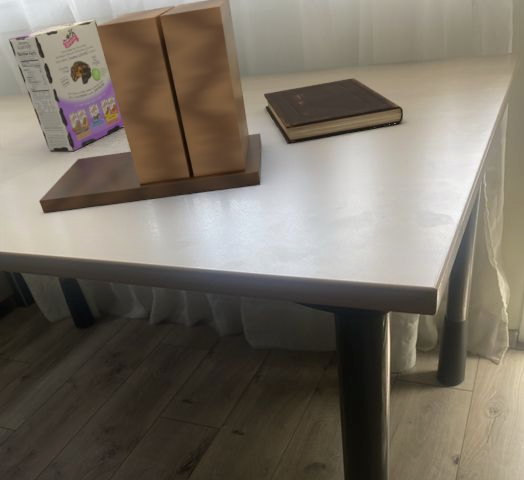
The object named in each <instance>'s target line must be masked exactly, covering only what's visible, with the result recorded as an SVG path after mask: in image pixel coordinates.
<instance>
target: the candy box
mask: <svg viewBox="0 0 524 480" xmlns="http://www.w3.org/2000/svg"><path fill="white" fill-rule="evenodd" d="M96 26H98V23H97V20H96V19H90V20H89V19H88V20H83V21H76V22H69V23H65V24H60V25H56V26H50V27H48V28H47V27H46V28H43V29H40V30H36V31H31V32H29V33H28V32H27V33H24V34H22V35H21V34H20V35H18V36H14V37H10V38H8V42H9V44H10V47H11V50H12V52H13V56H14V58H15V61H16V64H17V66H18V69H19V72H20V75H21V77H22V80H23V83H24V86H25V88H26V91H27V93H28V96H29V99H30V102H31V105H32V107H33V109H34V113H35V115H36V118H37V121H38V125H39V126H40V129H41V132H42V134H43V137H44V140H45V142H46V143H45V144H46V145H47V148H48V151H55V152H56V151H57V152H60V151H61V152H74V151H77V150H79V149H81V148H83V147H84V146H87V145H89V144H91V143H93V142H95V141H97V140H99V139H101V138H103V137H105V136H107V135H109V134H111V133H113V132H114V131H117V130H119V129H121V128H123V127H124V125H123V122H122V118H121V115H120V111H119V107H118V104H117V100H116V97H115V93H114V89H113V86H112V82H111V79H110V75H109V71H108V68H107V64H106V61H105V57H104V53H103V50H102V46H101V43H100V39H99V35H98V32H97V28H96Z"/></svg>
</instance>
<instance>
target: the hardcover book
mask: <svg viewBox="0 0 524 480" xmlns="http://www.w3.org/2000/svg"><path fill="white" fill-rule="evenodd" d="M263 96H264V98H265V100H266V102H267V105H266V106H265V109H266V111H267V113H268V114H269V115H270V117H271V119H272V120H273V122H274V124H276V126H277V128H278V130H279V132H280V133H281V134H282V136H283V138H284V139H285V141H286V142H287V144H293V143H294V144H295V143H300V142H305V141H310V140H311V141H312V140H316V139H322V138H329V137H333V136H339V135H346V134H351V133H355V132H361V130H362V131H366V130H365V129H368V130H371V129H370V128H373V129H375V128H374V127H379V126H384V125H389V124H394V123H399V124H401V122H402V121H403V117H404V110H403V107H402V106H400V105H398V104H397V103H395V102H393V101H391V100H390V99H388V98H387V97H386V96H384V95H382V94H381V93H379V92H377V91H376V90H374V89H372V88H371V87H369V86H367V85H366V84H364V83H362V82H361V81H359V80H358V79H356V78H355V77H352V78H346V79H341V80H334V81H329V82H324V83H319V84H311V85H307V86H301V87H294V88H290V89H283V90H279V91H278V90H277V91H272V92H267V93H264V94H263ZM384 127H385V126H384ZM379 128H380V127H379Z"/></svg>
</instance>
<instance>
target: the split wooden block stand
mask: <svg viewBox="0 0 524 480" xmlns="http://www.w3.org/2000/svg"><path fill="white" fill-rule="evenodd" d="M231 10H232V9H231V4H230V0H201V1H195V2H188V3H181V4H178V5H177V6H175V5H171V6H165V7H159V8H153V9H147V10H139V11H134V12H128V13H125V14H122V15H120V16H118V17H115V18H113V19H110V20H108V21H105V22H102V23H101V24H100V23H99V24H97V26H96V28H97V32H98V35H99V39H100V43H101V46H102V50H103V53H104V57H105V61H106V64H107V68H108V71H109V75H110V79H111V82H112V86H113V89H114V93H115V97H116V100H117V104H118V107H119V111H120V115H121V118H122V122H123V125H124V126H123V129H124V133H125V136H126V139H127V143H128V147H129V150H130V151H124V152H119V153H118V152H117V153H111V154H104V155H103V154H102V155H96V156H90V157H83V158H82V157H81V158H78V159H76V161H75V162H74V163H73V164H72V165H71V166H70V167H69V168H68V169H67V170H66V171H65V172H64V174H63V175H62V176H61V177H60V178H59V179H58V180H57V181H56V182H55V183H54V184H53V185H52V186H51V187H50V189H49V190H48V191H47V192H45V194H44V195H43V196H42V197H41V198H40V199H39V201H38V202H39V204H40V207H41V210H42V212H43V213H53V212H60V211H67V210H76V209H83V208H89V207H91V208H92V207H98V206H104V205H105V206H107V205H113V204H120V203H128V202H129V203H130V202H134V201H135V202H136V201H137V202H138V201H143V200H150V199H151V200H152V199H158V198H167V197H172V196H173V197H175V196H180V195H182V196H183V195H190V194H197V193H205V192H212V191H219V190H226V189H233V188H235V189H236V188H242V187H249V186H256V185H261V170H262V169H261V165H262V138H261V133H253V134H249V127H248V121H247V113H246V106H245V100H244V93H243V86H242V79H241V71H240V66H239V58H238V51H237V45H236V38H235V31H234V24H233V19H232V18H233V16H232V13H231V12H232V11H231Z"/></svg>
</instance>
